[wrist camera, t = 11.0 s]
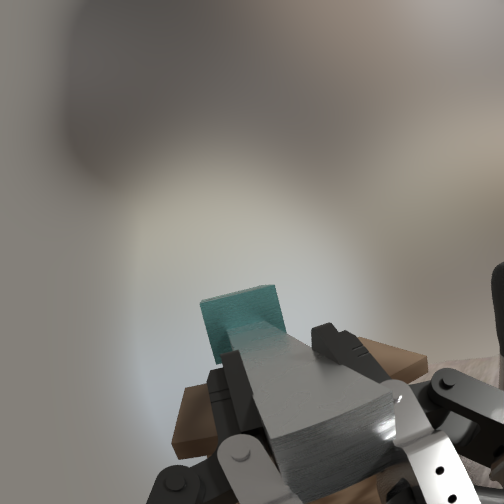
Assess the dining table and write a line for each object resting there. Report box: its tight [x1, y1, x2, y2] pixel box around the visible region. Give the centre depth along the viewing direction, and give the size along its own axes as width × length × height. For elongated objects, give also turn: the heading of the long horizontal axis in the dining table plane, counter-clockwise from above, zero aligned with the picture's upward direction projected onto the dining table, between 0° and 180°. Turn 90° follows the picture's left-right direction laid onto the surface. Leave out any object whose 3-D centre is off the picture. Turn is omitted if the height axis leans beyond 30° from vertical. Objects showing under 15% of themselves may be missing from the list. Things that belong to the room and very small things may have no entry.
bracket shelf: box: [171, 337, 428, 504], centre depth 22 cm, size 20×12×32 cm, turn 98°
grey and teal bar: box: [200, 285, 396, 504], centre depth 17 cm, size 6×23×5 cm, turn 8°
